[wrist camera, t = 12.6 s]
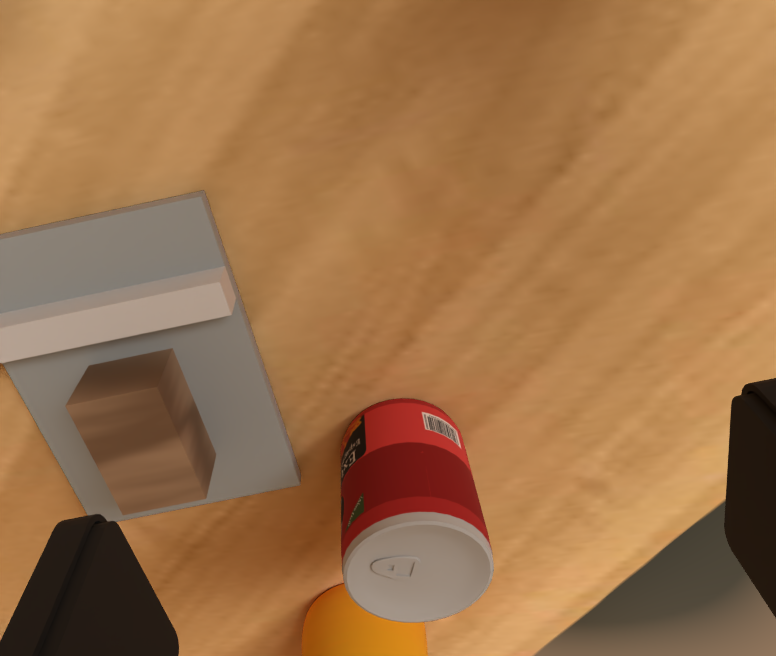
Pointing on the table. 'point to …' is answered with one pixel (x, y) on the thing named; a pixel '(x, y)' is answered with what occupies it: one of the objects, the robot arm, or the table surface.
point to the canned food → (410, 515)
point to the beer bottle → (357, 630)
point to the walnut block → (144, 431)
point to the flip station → (140, 337)
